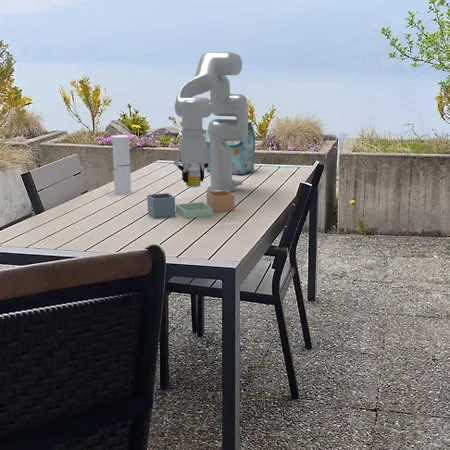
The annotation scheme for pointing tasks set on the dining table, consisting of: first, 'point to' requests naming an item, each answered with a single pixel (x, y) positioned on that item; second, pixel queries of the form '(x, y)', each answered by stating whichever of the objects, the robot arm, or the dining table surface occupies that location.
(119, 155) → the cylindrical container
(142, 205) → the dining table surface
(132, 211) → the dining table surface
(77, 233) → the dining table surface
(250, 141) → the lunch bag
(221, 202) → the terracotta square bin
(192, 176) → the supplement bottle
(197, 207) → the green tray
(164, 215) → the grey square bin
